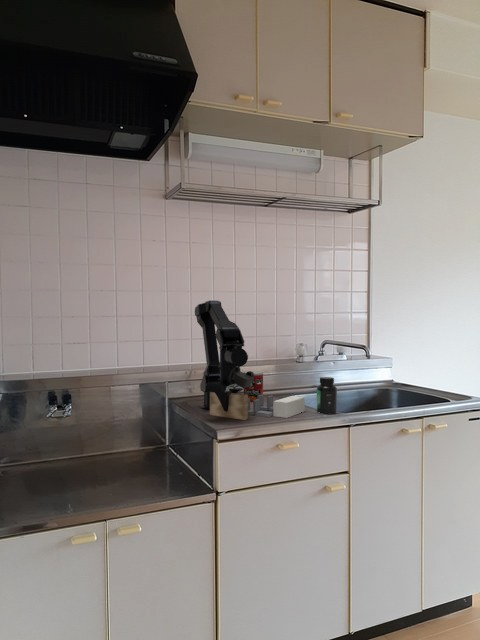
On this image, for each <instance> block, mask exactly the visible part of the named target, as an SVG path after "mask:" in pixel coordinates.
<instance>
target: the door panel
mask: <svg viewBox="0 0 480 640" xmlns="http://www.w3.org/2000/svg"><path fill="white" fill-rule="evenodd" d="M209 416H213V417H214V416H216V417H221V418H228V419H236V420H243V421H245V420H248V417H249V415H248V395H247V394H244V393H231V394H230V395H229V402H228V411H227V412H226V411H224V409H223V407H222V405H221V403H220V401H219V399H218V397H217V395H216V394H215V393H214V392H210V409H209Z"/></svg>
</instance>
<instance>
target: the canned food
mask: <svg viewBox="0 0 480 640" xmlns="http://www.w3.org/2000/svg"><path fill="white" fill-rule="evenodd" d="M244 372H245V374H246V373H247V372H248V371H244ZM251 372H253V373H254V382H252V383H251V386H250V387H246V388H243V390H242V391H243V394H247V395H248V398H250V403H253V400H257V396H258V395H264V372H262V371H253V370H251Z"/></svg>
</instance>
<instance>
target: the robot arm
mask: <svg viewBox="0 0 480 640" xmlns="http://www.w3.org/2000/svg"><path fill="white" fill-rule="evenodd" d="M194 316H195V317H196V321H197V323H198V324H199V326H200V327H201V328H202V336H203V344H204V353H205V361H206V366H205V368H204V371H203V375H202V378H201V382H200V385H199V387H200V391H201V392H203V406H201V407H200V408H201V409H203V410H210V392H214V393H215V394H216V395H217V397H218V399H219V401H220V403H221V405H222V407H223V409H224V411H226V412H227V411H228V402H229V395H230V394H231V393H238V394H240V393H241V392H242V391H243V388H246V387H250V386H251V383H252V382H254V373H253V372H251V371H252V370H251V371H248V370H247V371H244V372H242V371H241V367H243V366H245V365H246V364H247V363H248V361H249V360H248V359H249V354H248V353H247V351H246V350H245V349H244V348H243V347H245V339H244V336H243V334H242V332H241V329H240V327H239V326H238V325H237V324H236V323H235V322H234V321H231V320H230V319H229V317H228V315H227V313H226V312H225V310H224V309H223V306H222V301H219V300H207V301H204V302H202V303H199V304H197V305H196V306H195V308H194ZM218 345H219V346H218ZM218 348H219V349H218ZM245 372H247V373H246V374H245Z"/></svg>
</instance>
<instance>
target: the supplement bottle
mask: <svg viewBox="0 0 480 640" xmlns="http://www.w3.org/2000/svg"><path fill="white" fill-rule="evenodd" d="M334 384H335V378H334V377H331V376H330V377H329V376H321V377H319V385H318V386H317V387H316V412H317V413H318V412H320V413H319V414H321V413H335V414H336V413H337V412H338V409H337V408H338V389H337V386H336V385H334Z"/></svg>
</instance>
